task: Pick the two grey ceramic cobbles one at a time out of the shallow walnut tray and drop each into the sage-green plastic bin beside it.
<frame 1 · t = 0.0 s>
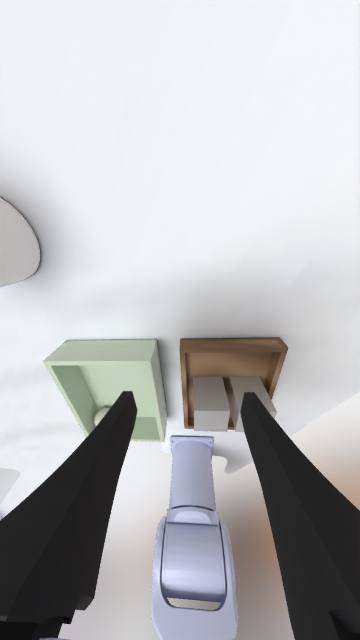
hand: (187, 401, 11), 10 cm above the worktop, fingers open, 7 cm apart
stone b: (207, 386, 24), resting on walnut tray
green bin: (123, 383, 25), on the worktop
walnut tray: (223, 383, 24), on the worktop
white ball: (108, 409, 27), point 1 cm above the worktop, touching green bin
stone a: (242, 386, 23), resting on walnut tray
pill bottle: (4, 239, 16), on the worktop
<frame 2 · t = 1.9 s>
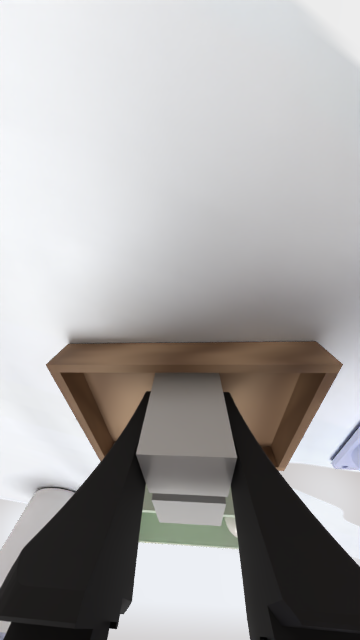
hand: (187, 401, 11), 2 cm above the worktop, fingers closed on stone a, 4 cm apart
stone b: (189, 426, 14), resting on walnut tray
green bin: (191, 480, 20), on the worktop
walnut tray: (188, 402, 13), on the worktop
white ball: (234, 499, 21), point 1 cm above the worktop, touching green bin
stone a: (187, 386, 12), resting on walnut tray, touching gripper
pill bottle: (63, 494, 26), on the worktop
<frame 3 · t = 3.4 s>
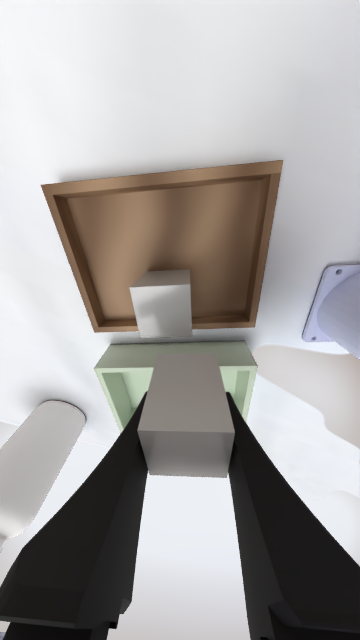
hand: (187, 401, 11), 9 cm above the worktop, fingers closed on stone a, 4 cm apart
stone b: (170, 291, 16), resting on walnut tray
green bin: (179, 378, 22), on the worktop
walnut tray: (168, 263, 15), on the worktop
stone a: (187, 375, 12), point 7 cm above the worktop, touching gripper
pill bottle: (64, 413, 28), on the worktop
when the fingers open (3 cm above the worktop, at t = 5.2 s): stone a stays where it is, resting on green bin.
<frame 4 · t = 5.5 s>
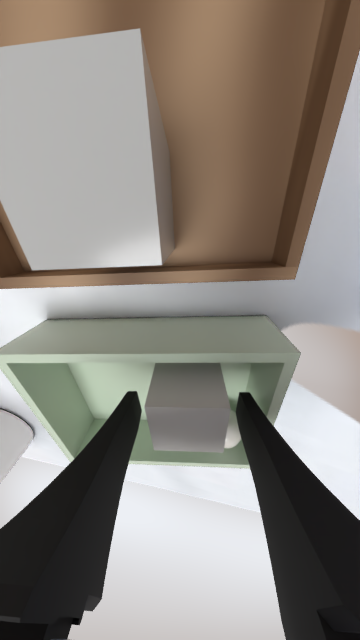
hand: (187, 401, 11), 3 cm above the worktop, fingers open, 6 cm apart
stone b: (133, 208, 8), resting on walnut tray
green bin: (160, 377, 15), on the worktop
walnut tray: (126, 145, 8), on the worktop
white ball: (221, 409, 15), point 1 cm above the worktop, touching green bin
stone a: (188, 364, 13), point 1 cm above the worktop, touching green bin
pill bottle: (3, 422, 20), on the worktop
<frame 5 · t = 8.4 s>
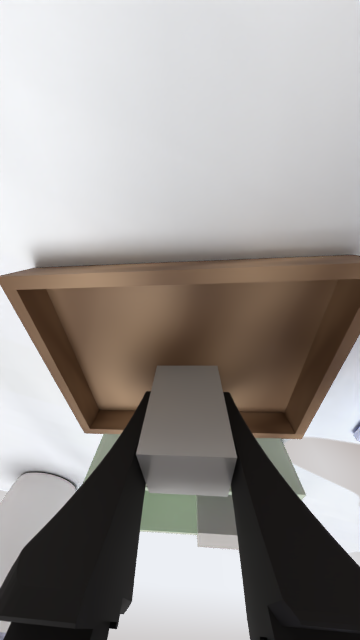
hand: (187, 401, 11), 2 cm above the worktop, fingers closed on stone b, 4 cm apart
stone b: (187, 386, 12), resting on walnut tray, touching gripper
green bin: (190, 461, 18), on the worktop
walnut tray: (186, 354, 11), on the worktop
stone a: (215, 459, 16), point 1 cm above the worktop, touching green bin
pill bottle: (50, 481, 23), on the worktop
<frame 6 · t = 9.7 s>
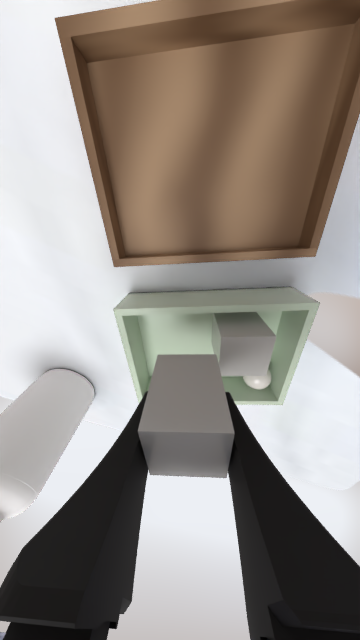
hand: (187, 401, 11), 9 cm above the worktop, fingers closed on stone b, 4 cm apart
stone b: (187, 375, 12), point 7 cm above the worktop, touching gripper
green bin: (206, 339, 19), on the worktop
walnut tray: (209, 172, 12), on the worktop
white ball: (251, 365, 20), point 1 cm above the worktop, touching green bin
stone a: (231, 326, 18), point 1 cm above the worktop, touching green bin
pill bottle: (70, 385, 25), on the worktop
when the fingers open (3 cm above the worktop, at t = 11.4 s): stone b stays where it is, resting on green bin.
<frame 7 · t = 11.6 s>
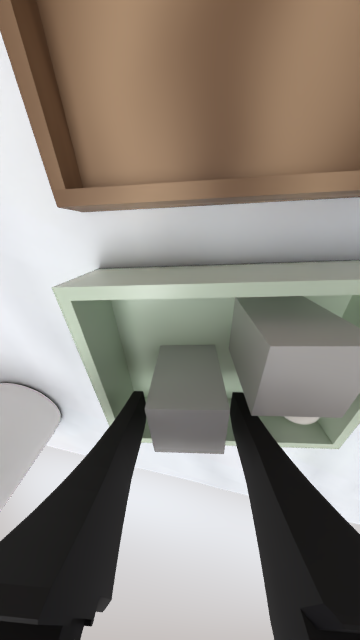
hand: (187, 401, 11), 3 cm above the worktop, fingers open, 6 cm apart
stone b: (188, 365, 13), point 1 cm above the worktop, touching green bin
green bin: (219, 345, 13), on the worktop
white ball: (285, 384, 13), point 1 cm above the worktop, touching green bin
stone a: (261, 324, 11), point 1 cm above the worktop, touching green bin
pill bottle: (27, 404, 18), on the worktop
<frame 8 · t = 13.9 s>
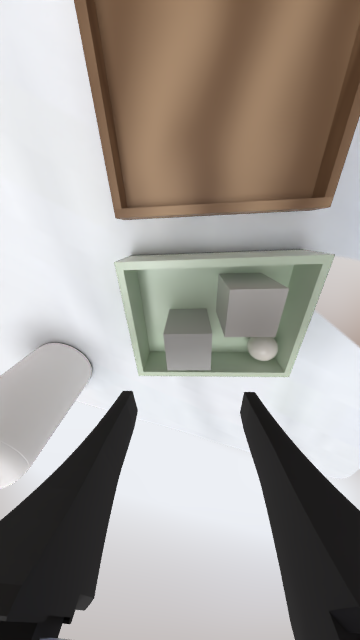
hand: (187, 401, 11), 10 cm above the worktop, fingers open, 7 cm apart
stone b: (188, 324, 19), point 1 cm above the worktop, touching green bin
green bin: (210, 310, 18), on the worktop
walnut tray: (220, 112, 11), on the worktop
white ball: (256, 338, 19), point 1 cm above the worktop, touching green bin
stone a: (236, 293, 17), point 1 cm above the worktop, touching green bin
pill bottle: (66, 362, 24), on the worktop
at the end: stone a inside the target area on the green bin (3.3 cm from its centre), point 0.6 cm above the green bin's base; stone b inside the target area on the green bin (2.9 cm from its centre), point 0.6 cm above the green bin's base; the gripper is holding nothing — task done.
